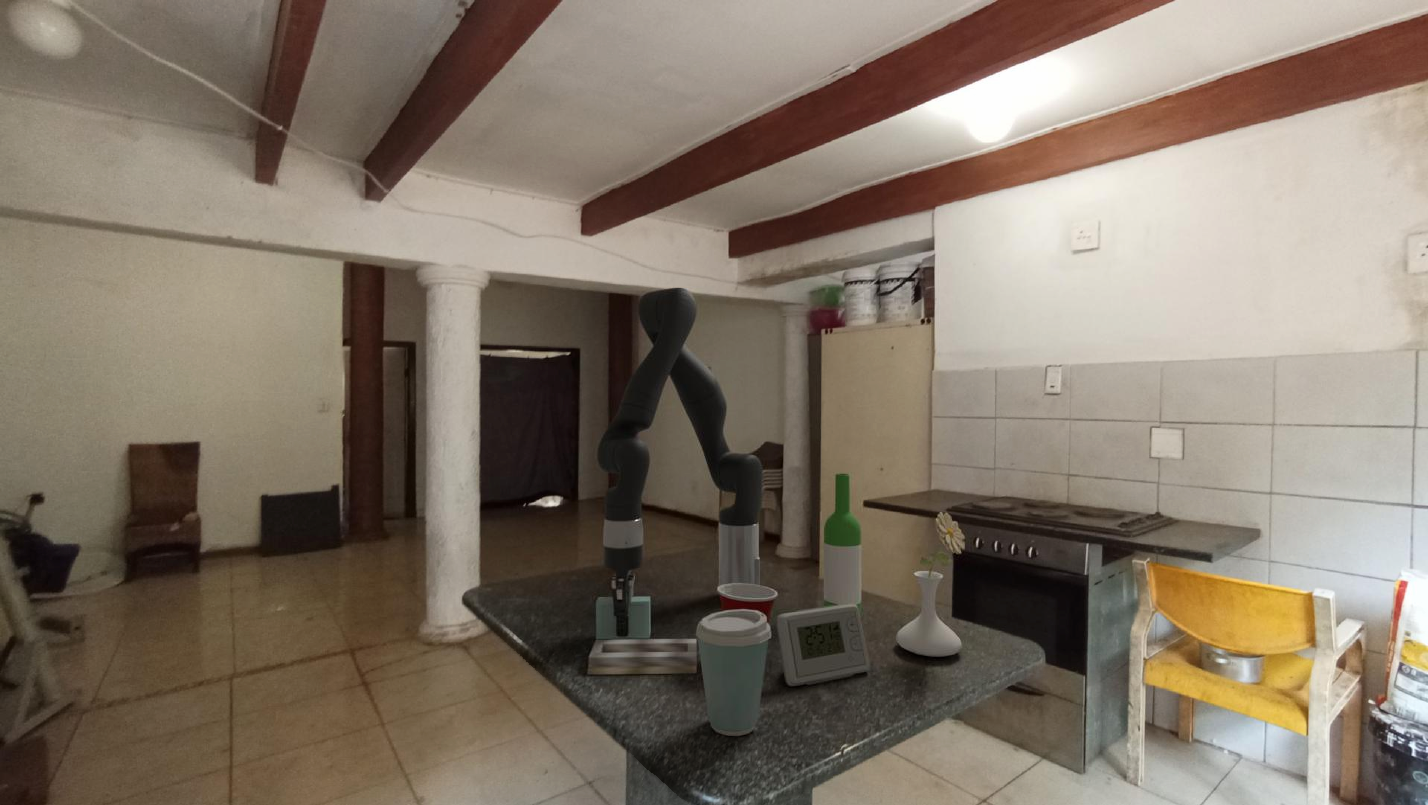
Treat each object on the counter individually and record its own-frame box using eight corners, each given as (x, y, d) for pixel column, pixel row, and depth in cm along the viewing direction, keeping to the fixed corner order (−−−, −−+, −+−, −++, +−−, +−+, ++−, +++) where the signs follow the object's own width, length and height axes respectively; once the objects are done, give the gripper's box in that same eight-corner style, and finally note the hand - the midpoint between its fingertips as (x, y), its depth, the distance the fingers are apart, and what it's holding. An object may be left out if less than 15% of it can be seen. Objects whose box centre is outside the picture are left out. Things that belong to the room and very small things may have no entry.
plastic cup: (790, 660, 111) (790, 591, 111) (738, 673, 105) (738, 601, 105) (754, 640, 120) (754, 577, 120) (705, 652, 114) (705, 585, 114)
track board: (696, 650, 115) (696, 636, 115) (696, 673, 105) (696, 658, 105) (596, 651, 115) (596, 637, 115) (587, 674, 105) (587, 659, 105)
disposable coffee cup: (701, 748, 82) (701, 632, 82) (690, 709, 93) (690, 606, 93) (780, 741, 84) (780, 627, 84) (760, 703, 94) (760, 602, 95)
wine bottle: (835, 607, 140) (835, 471, 140) (867, 615, 134) (867, 474, 135) (816, 616, 134) (816, 474, 134) (849, 624, 129) (849, 477, 129)
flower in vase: (924, 667, 108) (924, 520, 108) (883, 643, 118) (883, 510, 118) (983, 656, 113) (983, 515, 113) (938, 634, 123) (938, 506, 123)
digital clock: (784, 691, 99) (784, 622, 99) (767, 667, 108) (767, 605, 108) (880, 681, 102) (880, 615, 102) (856, 659, 111) (856, 599, 111)
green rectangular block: (650, 632, 123) (650, 596, 123) (649, 639, 119) (649, 601, 119) (598, 633, 122) (598, 597, 122) (595, 639, 119) (595, 602, 119)
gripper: (639, 550, 114) (640, 646, 114) (645, 534, 128) (646, 619, 128) (597, 550, 114) (598, 646, 114) (608, 534, 128) (608, 619, 128)
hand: (623, 631), depth 121 cm, fingers closed on green rectangular block, 3 cm apart
